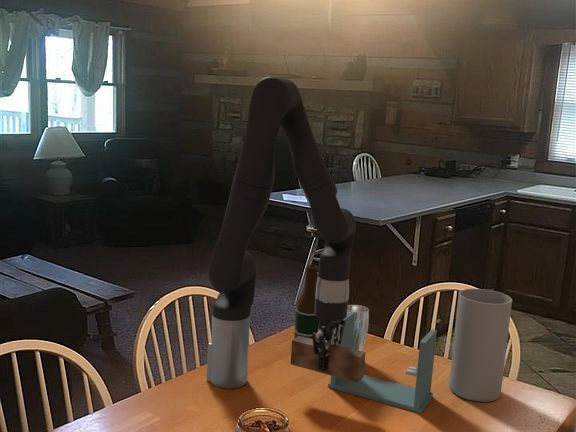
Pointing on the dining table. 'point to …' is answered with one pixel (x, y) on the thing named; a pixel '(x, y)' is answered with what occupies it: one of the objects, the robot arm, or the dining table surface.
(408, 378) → the dining table surface
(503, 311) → the cylinder vase
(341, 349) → the walnut plank
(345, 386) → the shelf stand
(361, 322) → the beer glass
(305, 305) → the beer bottle
